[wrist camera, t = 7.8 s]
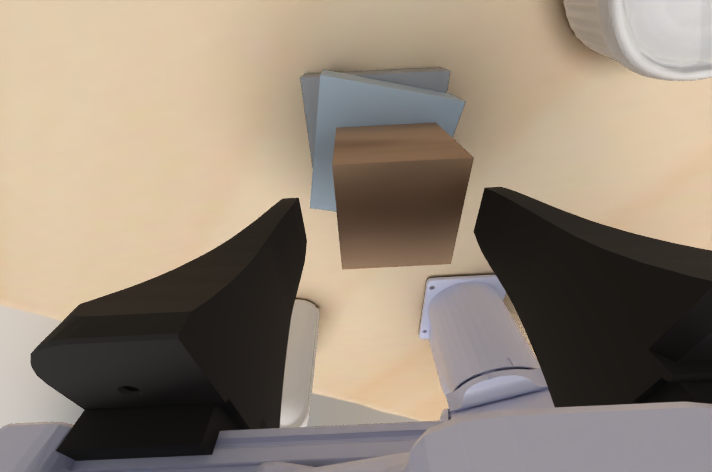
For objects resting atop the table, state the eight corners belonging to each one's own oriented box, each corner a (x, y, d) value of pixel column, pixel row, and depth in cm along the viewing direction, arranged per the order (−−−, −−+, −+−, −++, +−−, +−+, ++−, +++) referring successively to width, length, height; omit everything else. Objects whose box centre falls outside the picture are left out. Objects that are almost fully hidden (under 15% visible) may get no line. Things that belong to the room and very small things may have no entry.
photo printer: (302, 355, 34) (283, 489, 24) (267, 349, 33) (231, 486, 23) (325, 302, 28) (313, 449, 18) (283, 293, 27) (246, 443, 17)
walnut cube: (425, 208, 17) (450, 263, 13) (343, 213, 17) (342, 269, 13) (435, 122, 14) (473, 157, 10) (336, 127, 14) (331, 165, 10)
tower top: (413, 202, 19) (421, 222, 17) (313, 189, 18) (309, 208, 16) (449, 93, 15) (465, 101, 13) (323, 69, 14) (320, 74, 12)
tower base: (423, 186, 21) (431, 202, 19) (321, 191, 21) (318, 207, 19) (437, 66, 17) (450, 70, 14) (305, 72, 17) (300, 77, 15)
